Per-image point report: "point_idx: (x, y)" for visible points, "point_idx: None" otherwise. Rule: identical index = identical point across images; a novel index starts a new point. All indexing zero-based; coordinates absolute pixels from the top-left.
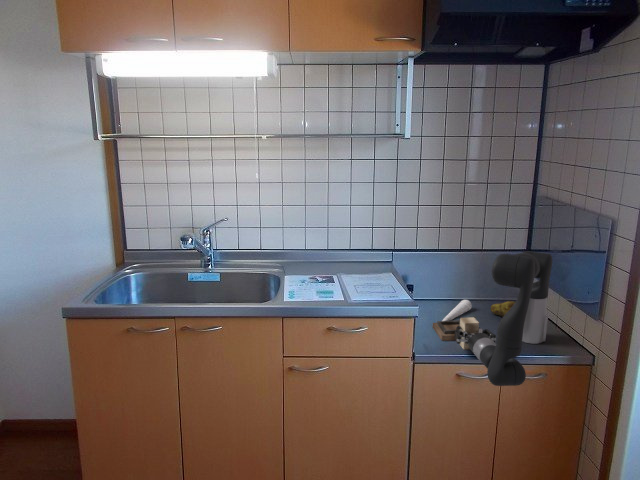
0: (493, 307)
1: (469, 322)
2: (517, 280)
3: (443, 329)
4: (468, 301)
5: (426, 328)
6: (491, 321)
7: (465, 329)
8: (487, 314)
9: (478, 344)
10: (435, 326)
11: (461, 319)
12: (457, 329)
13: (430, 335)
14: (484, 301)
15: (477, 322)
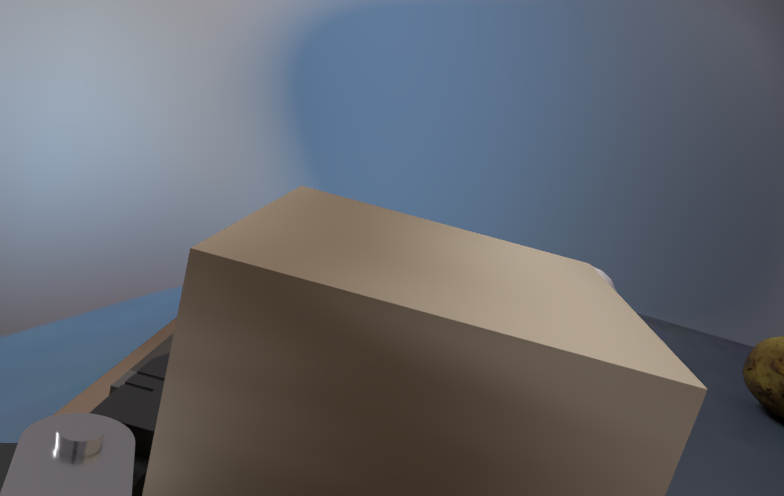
0: (780, 355)
1: (379, 281)
2: None
3: (140, 362)
4: (603, 278)
5: (129, 329)
6: (746, 456)
7: (171, 469)
8: (712, 396)
9: None
10: (169, 323)
11: (282, 202)
12: (114, 403)
13: (25, 395)
14: (695, 332)
15: (649, 361)
